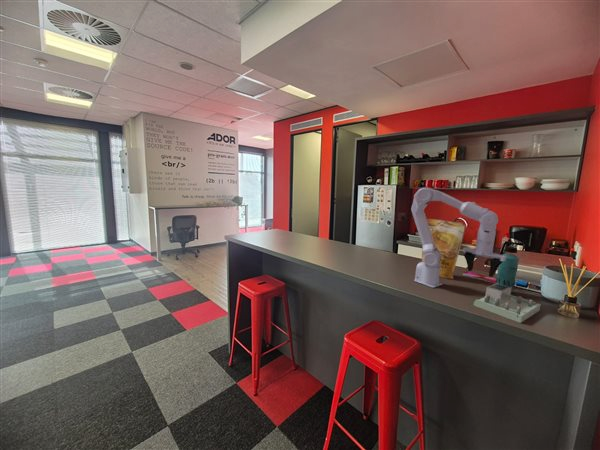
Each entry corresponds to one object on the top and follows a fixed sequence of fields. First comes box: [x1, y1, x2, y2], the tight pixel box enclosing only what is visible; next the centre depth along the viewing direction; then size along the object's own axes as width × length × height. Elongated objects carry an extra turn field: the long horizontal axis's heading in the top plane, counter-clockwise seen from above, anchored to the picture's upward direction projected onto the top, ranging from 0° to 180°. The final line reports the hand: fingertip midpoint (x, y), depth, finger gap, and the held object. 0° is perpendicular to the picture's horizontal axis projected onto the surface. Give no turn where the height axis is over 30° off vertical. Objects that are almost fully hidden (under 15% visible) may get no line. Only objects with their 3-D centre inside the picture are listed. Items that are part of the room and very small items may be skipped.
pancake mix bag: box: [421, 218, 466, 280], centre depth 126 cm, size 7×19×28 cm, turn 38°
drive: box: [484, 283, 512, 306], centre depth 95 cm, size 5×9×6 cm, turn 122°
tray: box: [473, 292, 542, 324], centre depth 93 cm, size 14×18×4 cm
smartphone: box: [462, 271, 497, 285], centre depth 125 cm, size 7×1×15 cm
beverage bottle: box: [495, 245, 520, 292], centre depth 107 cm, size 6×7×20 cm
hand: (480, 273), depth 103 cm, fingers open, 7 cm apart
